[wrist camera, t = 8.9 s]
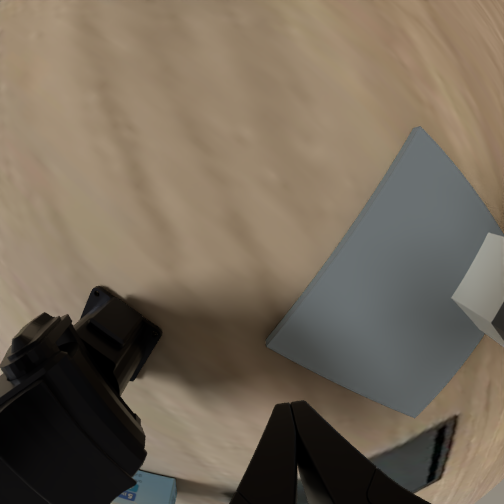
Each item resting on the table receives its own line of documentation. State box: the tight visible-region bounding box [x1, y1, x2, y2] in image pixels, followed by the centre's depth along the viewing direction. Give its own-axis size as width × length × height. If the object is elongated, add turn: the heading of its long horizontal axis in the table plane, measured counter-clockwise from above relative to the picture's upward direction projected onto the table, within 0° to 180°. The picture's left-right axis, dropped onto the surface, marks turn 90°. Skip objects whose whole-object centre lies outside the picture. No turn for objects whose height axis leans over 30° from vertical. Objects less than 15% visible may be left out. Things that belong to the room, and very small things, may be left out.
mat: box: [266, 126, 504, 418], centre depth 20 cm, size 20×20×1 cm
